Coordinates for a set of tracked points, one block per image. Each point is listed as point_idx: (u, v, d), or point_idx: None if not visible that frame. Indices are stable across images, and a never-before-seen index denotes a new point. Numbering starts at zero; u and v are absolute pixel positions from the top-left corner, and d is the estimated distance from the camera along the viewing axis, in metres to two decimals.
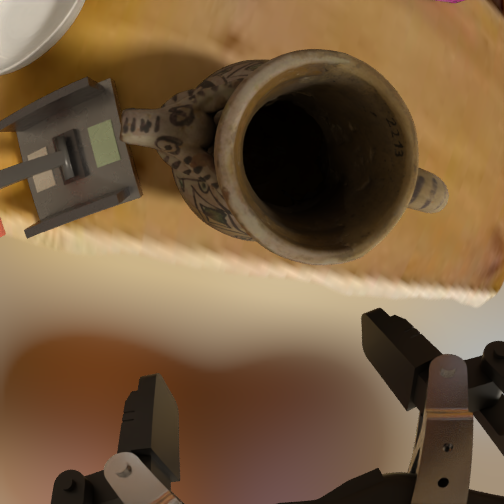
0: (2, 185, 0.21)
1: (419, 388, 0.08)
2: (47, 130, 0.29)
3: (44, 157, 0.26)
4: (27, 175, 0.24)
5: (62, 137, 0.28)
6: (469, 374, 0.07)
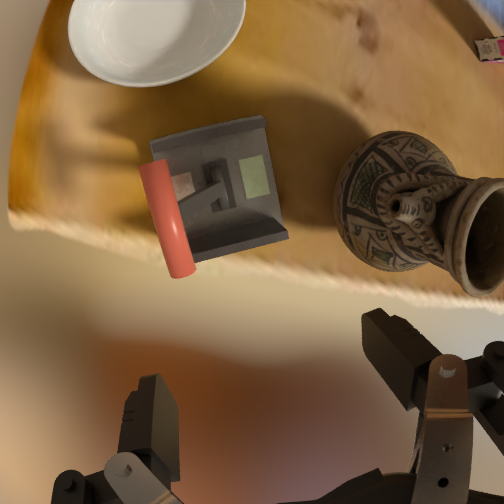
0: (188, 217, 0.28)
1: (419, 388, 0.08)
2: (191, 155, 0.36)
3: (212, 188, 0.33)
4: (203, 206, 0.31)
5: (220, 167, 0.35)
6: (469, 374, 0.07)
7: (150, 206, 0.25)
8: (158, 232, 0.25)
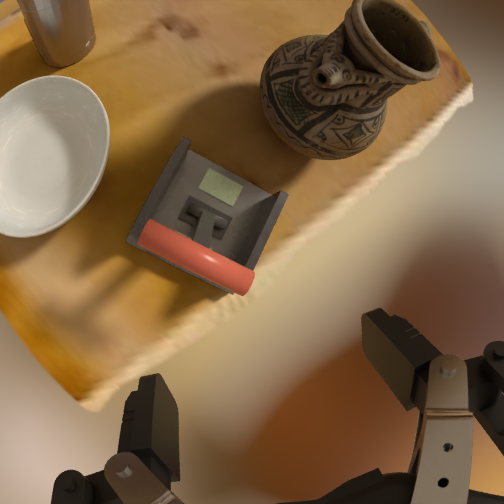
0: (208, 245, 0.28)
1: (419, 388, 0.08)
2: (165, 218, 0.37)
3: (202, 218, 0.34)
4: (210, 232, 0.31)
5: (192, 203, 0.36)
6: (469, 374, 0.07)
7: (175, 260, 0.25)
8: (200, 272, 0.26)
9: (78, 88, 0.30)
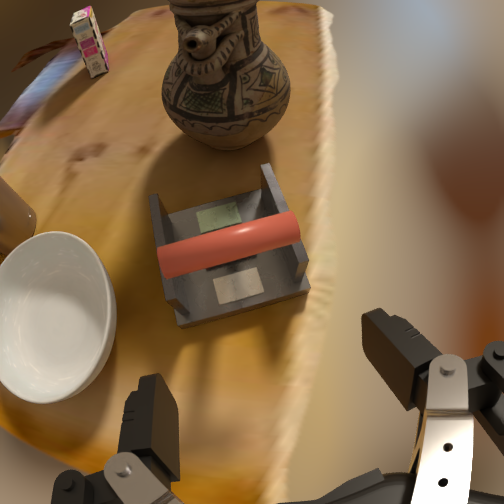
0: None
1: (419, 388, 0.08)
2: (195, 279, 0.35)
3: None
4: None
5: None
6: (469, 374, 0.07)
7: (209, 258, 0.21)
8: (241, 248, 0.22)
9: (43, 240, 0.33)
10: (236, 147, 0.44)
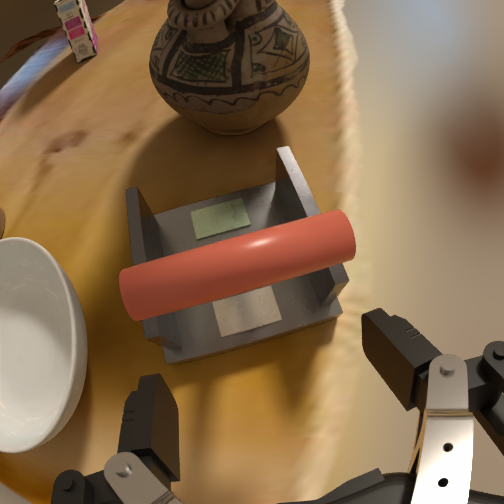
0: None
1: (419, 388, 0.08)
2: None
3: None
4: None
5: None
6: (469, 374, 0.07)
7: (205, 291, 0.12)
8: (260, 274, 0.13)
9: (2, 248, 0.24)
10: (241, 131, 0.35)
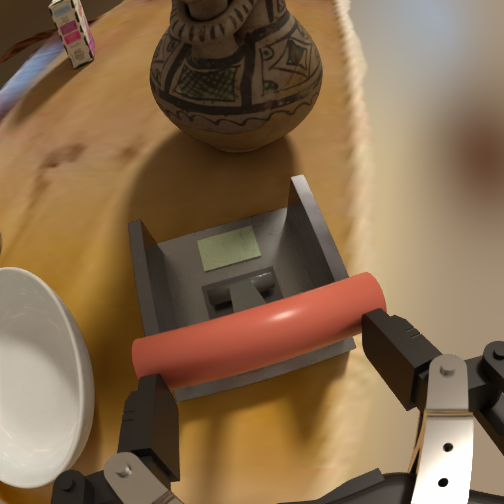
0: (264, 305, 0.15)
1: (419, 388, 0.08)
2: None
3: (233, 290, 0.20)
4: (256, 293, 0.18)
5: None
6: (469, 374, 0.07)
7: (228, 369, 0.11)
8: (286, 351, 0.11)
9: (0, 277, 0.23)
10: (249, 149, 0.34)
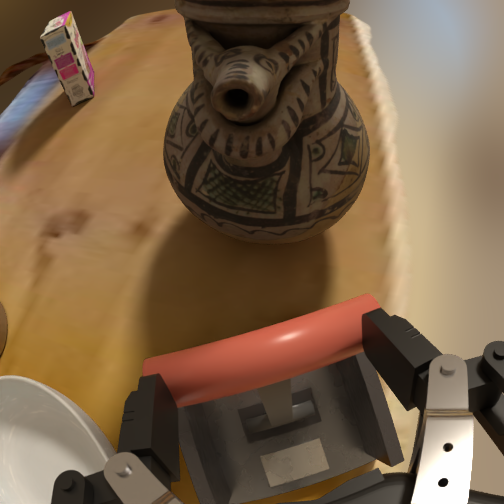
0: None
1: (419, 388, 0.08)
2: (235, 454, 0.21)
3: None
4: None
5: (249, 419, 0.21)
6: (469, 374, 0.07)
7: (228, 368, 0.11)
8: (285, 349, 0.12)
9: (14, 383, 0.20)
10: None
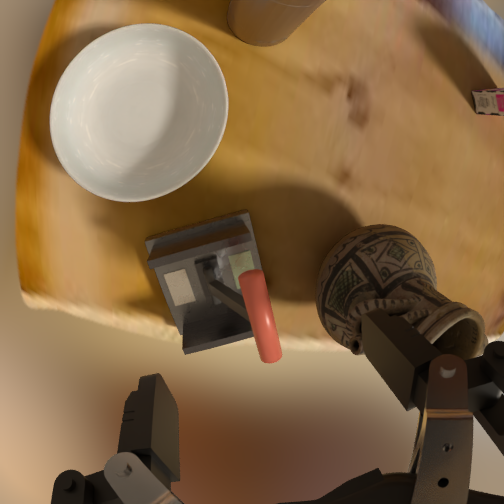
0: None
1: (419, 388, 0.08)
2: None
3: (226, 287, 0.38)
4: None
5: (211, 268, 0.40)
6: (469, 374, 0.07)
7: (259, 312, 0.29)
8: (265, 331, 0.30)
9: (220, 92, 0.31)
10: None
